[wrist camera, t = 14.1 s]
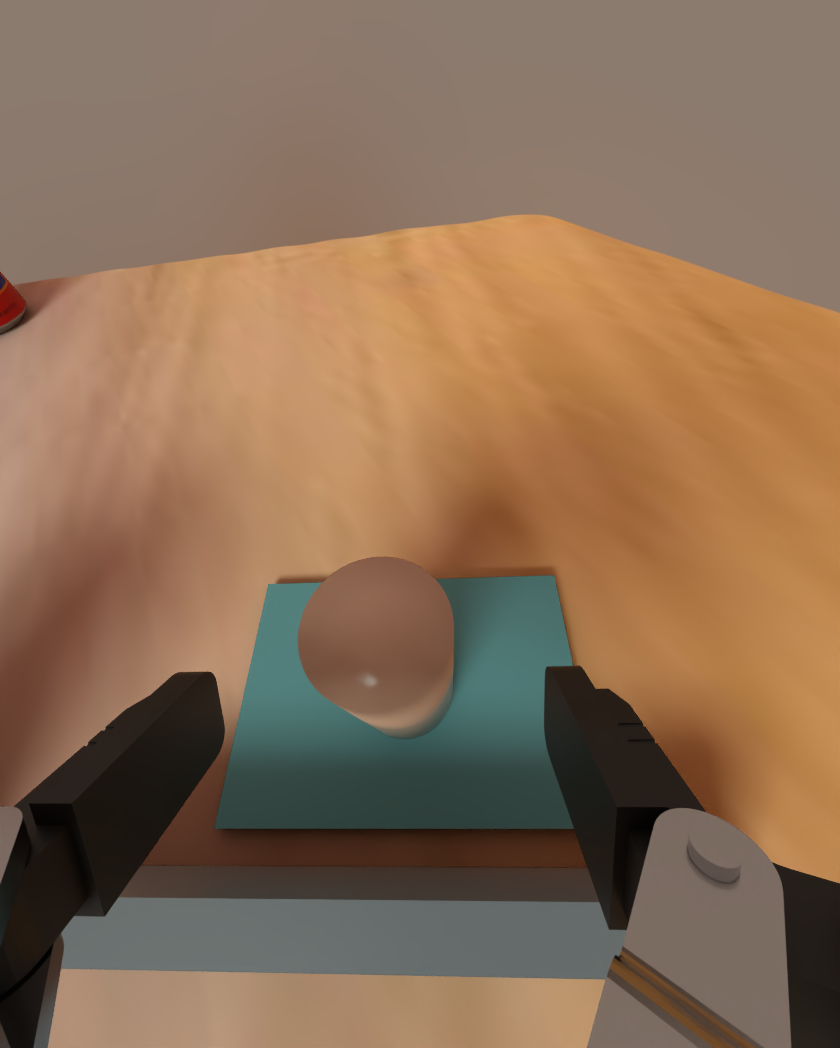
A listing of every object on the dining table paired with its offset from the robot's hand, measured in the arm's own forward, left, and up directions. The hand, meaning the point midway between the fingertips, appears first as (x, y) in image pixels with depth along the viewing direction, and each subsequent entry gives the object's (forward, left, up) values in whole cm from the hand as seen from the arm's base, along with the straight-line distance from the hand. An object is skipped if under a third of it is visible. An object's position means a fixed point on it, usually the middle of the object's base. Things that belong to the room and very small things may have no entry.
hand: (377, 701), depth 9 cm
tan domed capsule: (0, -2, -10) cm, 10 cm away
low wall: (+1, +5, -10) cm, 12 cm away
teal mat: (0, -2, -10) cm, 11 cm away
